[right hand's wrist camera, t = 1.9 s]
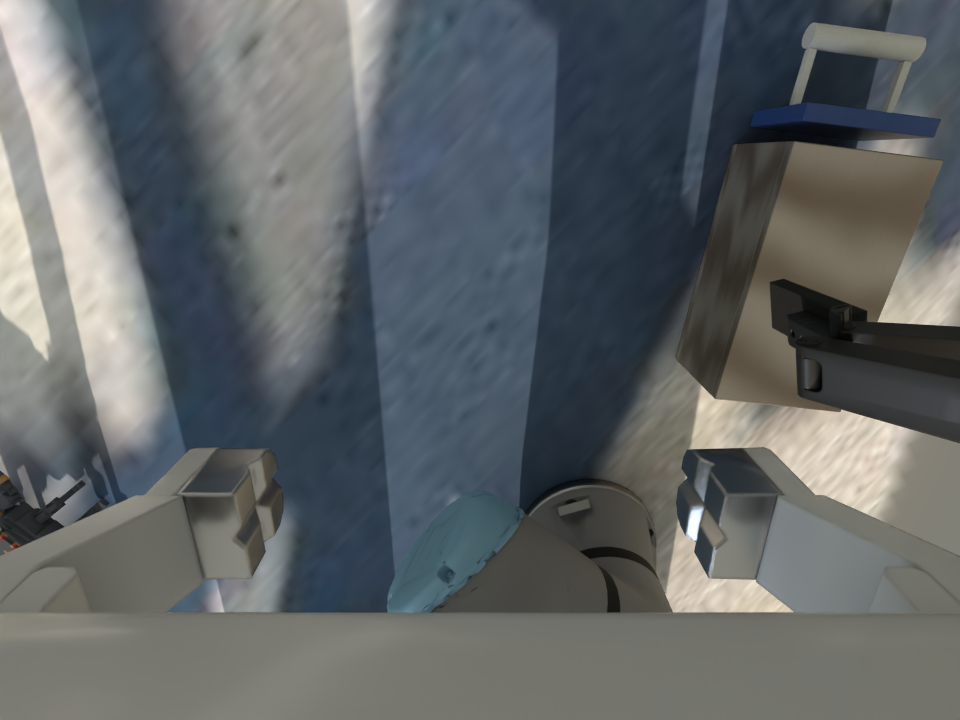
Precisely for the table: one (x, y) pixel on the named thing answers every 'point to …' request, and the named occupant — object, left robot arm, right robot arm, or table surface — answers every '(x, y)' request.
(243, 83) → the table surface
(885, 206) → the cabinet
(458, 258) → the table surface
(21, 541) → the toy
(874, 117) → the drawer
